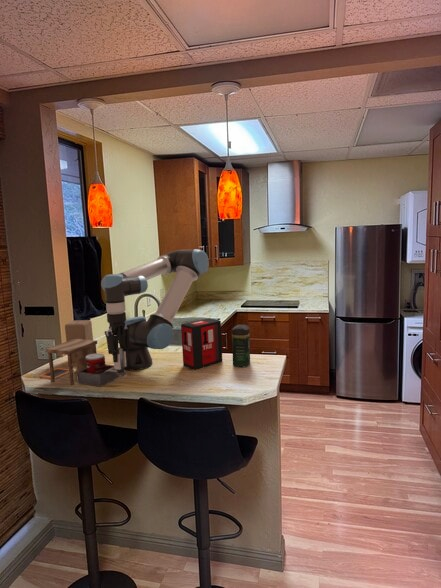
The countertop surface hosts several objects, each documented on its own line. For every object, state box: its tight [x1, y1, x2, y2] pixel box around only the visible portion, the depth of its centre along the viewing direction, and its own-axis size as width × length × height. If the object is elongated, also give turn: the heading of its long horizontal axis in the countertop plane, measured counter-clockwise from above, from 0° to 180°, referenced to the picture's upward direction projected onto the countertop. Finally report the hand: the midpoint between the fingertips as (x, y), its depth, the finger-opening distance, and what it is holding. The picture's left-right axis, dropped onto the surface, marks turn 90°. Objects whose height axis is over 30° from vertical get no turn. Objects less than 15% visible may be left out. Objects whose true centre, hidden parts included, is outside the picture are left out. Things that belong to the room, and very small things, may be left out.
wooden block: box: [64, 319, 94, 364], centre depth 199 cm, size 10×10×20 cm
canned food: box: [85, 352, 106, 374], centre depth 171 cm, size 8×8×11 cm
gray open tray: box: [76, 346, 127, 387], centre depth 169 cm, size 20×12×15 cm, turn 67°
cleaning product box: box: [180, 317, 223, 371], centre depth 186 cm, size 16×9×20 cm, turn 131°
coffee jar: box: [231, 324, 251, 369], centre depth 183 cm, size 10×8×19 cm
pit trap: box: [38, 367, 75, 381], centre depth 182 cm, size 10×11×1 cm
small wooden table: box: [45, 339, 98, 386], centre depth 176 cm, size 13×17×15 cm
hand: (120, 367), depth 166 cm, fingers closed on gray open tray, 3 cm apart
